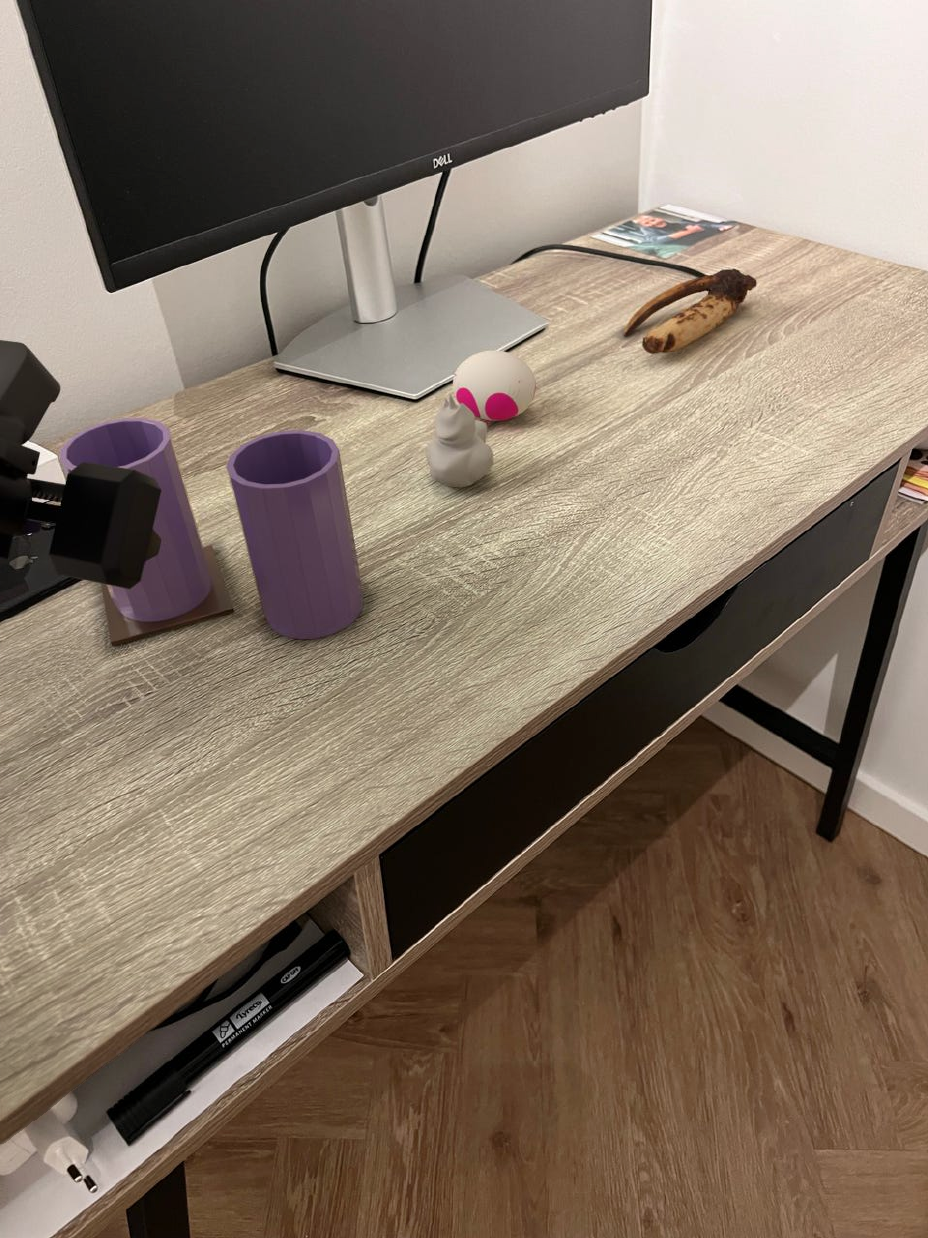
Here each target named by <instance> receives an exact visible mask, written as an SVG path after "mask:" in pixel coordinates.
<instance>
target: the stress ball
mask: <svg viewBox="0 0 928 1238" xmlns="http://www.w3.org/2000/svg"><path fill="white" fill-rule="evenodd" d="M452 375H453V379H452V390H453V394H454V397H455V400H456V402H457V403H458V405H460V404H461V403H463V404H464V405H465V406H467V407H468V408H469V409H470V410H471V411H472V412H473V414H474V415H475V418H478V419H480V420H484V421H486V422H484V423H485V424H486V425H487V426H488V425H489V424H490V423H491V421H492V422H493V421H495V422H496V421H506V420H509V419H510V420H511V419H513V418H514V417H517V416H519V415H520V414H522V413H523V412H524V411H526V410H527V408H528V407H530V405H531V404H532V402H533V400H534V398H535V396H536V392H537V391H536V390H537V383H536V377H535V374H534V372H533V370H532V369H531V367H530V366H529V364H527V362H525V361H524V360H523V359H522V358H520V357H519V356H517V355H515V354H513V353H510V352H508V351H502V350H485V351H480V352H477V353H475V354H472V355H470V356H469V357H467V358H466V359H465V360H464V361H463V362H461V363H460V365H459V366H458V367H457V369H456V371H455V373H454V372H452Z"/></svg>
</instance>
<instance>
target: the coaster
mask: <svg viewBox="0 0 928 1238" xmlns="http://www.w3.org/2000/svg"><path fill="white" fill-rule="evenodd" d="M203 548H204V551H205V555H206V558H207V562H208V565H209V569H210V574H211V578H212V588H211V590H210V592H209V594H208V596H207V597H206V598H205V599H204V600H203V601H202V602H201V603H200V604H199V605H198V606H197V607H195V608H194V609H192V610H190V611H189V612H187V613H185V614H182V615H180V616H177V617H174V618H171V619H167V620H162V621H155V622H143V621H136V620H132V619H129V618H127V617H125V616H124V615H122V614H121V613H120V612H119V611H118V609H117V608H116V605H115V603H114V602H113V600H112V597H111V595H110V592H109V590H108V587H107V585H106V584H101V583H100V587H101V593H102V600H103V604H104V611H105V618H106V624H107V629H108V634H109V641H110V644H111V646H112V647H116V646H120V645H124V644H127V643H130V642H134V641H137V640H140V639H144V638H148V637H151V636H154V635H158V634H162V633H165V632H168V631H172V630H175V629H176V630H177V629H180V628H183V627H186V626H187V627H188V626H191V625H194V624H197V623H201V622H204V621H208V620H212V619H215V618H218V617H221V616H227V615H229V614H232V613H233V614H234V613H235V611H234V607H233V604H232V601H231V597H230V595H229V592H228V589H227V586H226V584H225V580H224V577H223V574H222V571H221V568H220V565H219V562H218V559H217V556H216V552H215V549H214V547H213V545H212V544H210V545H206V546H203Z"/></svg>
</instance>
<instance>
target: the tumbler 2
mask: <svg viewBox="0 0 928 1238" xmlns="http://www.w3.org/2000/svg"><path fill="white" fill-rule="evenodd" d="M225 468H226V471H227V477H228V480H229V484H230V487H231V491H232V495H233V500H234V503H235V506H236V507H235V508H236V511H237V515H238V519H239V524H240V527H241V531H242V535H243V539H244V542H245V543H244V544H245V547H246V551H247V555H248V558H249V562H250V566H251V570H252V575H253V578H254V583H255V586H256V590H257V594H258V597H259V601H260V605H261V609H262V612H263V616H264V619H265V622H266V624H267V625H268V626H269V628H270V629H271V630H272V631H273V632H276V633H277V634H278V635H280V636H283V637H286V638H288V639H289V638H290V639H293V640H295V639H296V640H314V639H315V640H316V639H321V638H325V637H329V636H331V635H334V634H337V633H338V632H341V631H342V630H344V629H346V628H347V627H349V626H350V625H352V623H354V621H355V620H356V619H357V618H358V617H359V616H360V614H361V612H362V611H363V606H364V596H363V594H364V591H363V590H364V589H363V584H362V579H361V573H360V568H359V560H358V554H357V549H356V543H355V536H354V529H353V524H352V519H351V512H350V507H349V500H348V495H347V489H346V483H345V477H344V470H343V465H342V458H341V452H340V449H339V447H338V445H337V444H336V442H335V440H334V439H332V438H330V437H329V436H326V435H325V434H323V433H321V432H318V431H317V432H316V431H310V430H305V429H293V430H279V431H275V432H271V433H266V434H263V435H259V436H257V437H254V438H253V439H250V440H248V441H246V442H244V443H242V444H241V445H240V446H239V447H238V448H236V449H235V450H234V451H233V452H232V453H231V454H230V455H229V457H228V460H227V463H226V466H225Z"/></svg>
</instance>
